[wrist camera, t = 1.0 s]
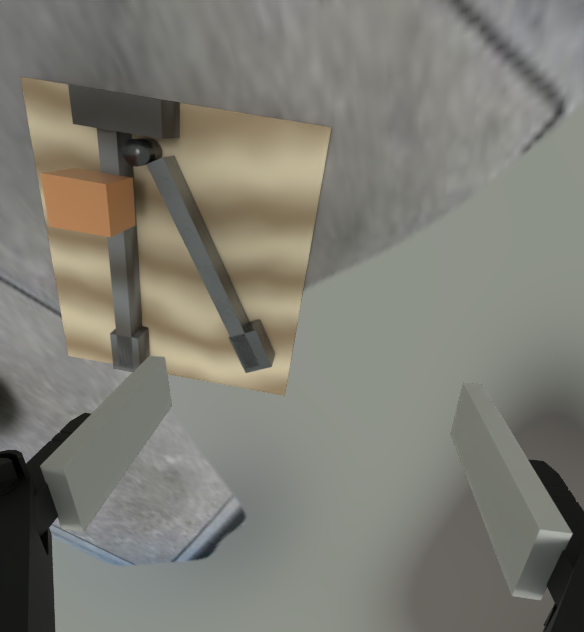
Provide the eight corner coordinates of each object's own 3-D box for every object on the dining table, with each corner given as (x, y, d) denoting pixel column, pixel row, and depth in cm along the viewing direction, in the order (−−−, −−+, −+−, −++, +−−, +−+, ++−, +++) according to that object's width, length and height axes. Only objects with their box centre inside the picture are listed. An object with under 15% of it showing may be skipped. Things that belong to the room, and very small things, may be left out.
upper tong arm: (135, 143, 31) (117, 144, 29) (175, 125, 30) (160, 125, 28) (242, 362, 41) (235, 378, 38) (275, 354, 40) (271, 370, 37)
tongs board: (33, 78, 31) (-18, 70, 27) (331, 127, 31) (330, 127, 26) (76, 348, 44) (47, 373, 40) (286, 387, 44) (280, 417, 39)
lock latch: (74, 167, 30) (40, 173, 27) (132, 177, 30) (105, 184, 27) (80, 215, 32) (49, 226, 29) (135, 225, 32) (110, 237, 29)
